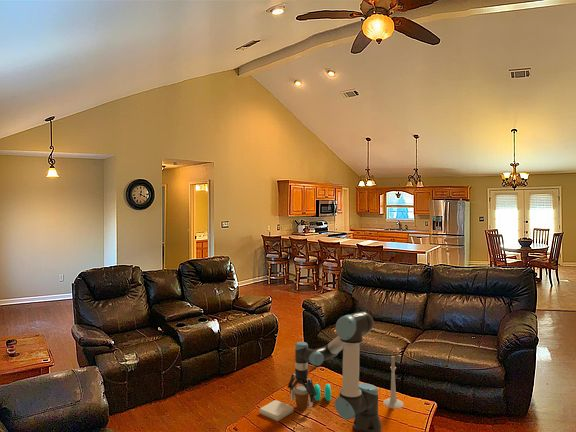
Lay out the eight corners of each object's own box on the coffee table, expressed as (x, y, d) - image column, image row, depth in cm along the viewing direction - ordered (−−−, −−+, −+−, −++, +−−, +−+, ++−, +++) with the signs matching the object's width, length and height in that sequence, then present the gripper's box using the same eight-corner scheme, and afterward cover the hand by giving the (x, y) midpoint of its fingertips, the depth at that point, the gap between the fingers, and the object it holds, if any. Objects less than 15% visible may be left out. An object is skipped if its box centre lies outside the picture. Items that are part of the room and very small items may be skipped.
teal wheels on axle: (331, 404, 251) (331, 387, 251) (315, 404, 251) (314, 387, 251) (330, 396, 261) (329, 381, 261) (314, 396, 261) (314, 381, 261)
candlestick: (387, 398, 258) (386, 350, 258) (407, 403, 251) (406, 354, 250) (379, 406, 248) (379, 356, 247) (400, 411, 240) (399, 361, 240)
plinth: (293, 411, 242) (293, 406, 242) (277, 421, 231) (277, 416, 231) (275, 404, 251) (275, 399, 251) (259, 413, 240) (259, 408, 240)
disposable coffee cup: (308, 412, 241) (308, 392, 241) (292, 410, 243) (292, 390, 242) (310, 404, 250) (310, 385, 250) (295, 403, 252) (295, 384, 252)
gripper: (322, 371, 241) (322, 407, 241) (289, 361, 257) (289, 395, 257) (314, 375, 235) (314, 412, 236) (281, 365, 251) (281, 399, 252)
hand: (301, 403), depth 246 cm, fingers open, 13 cm apart
